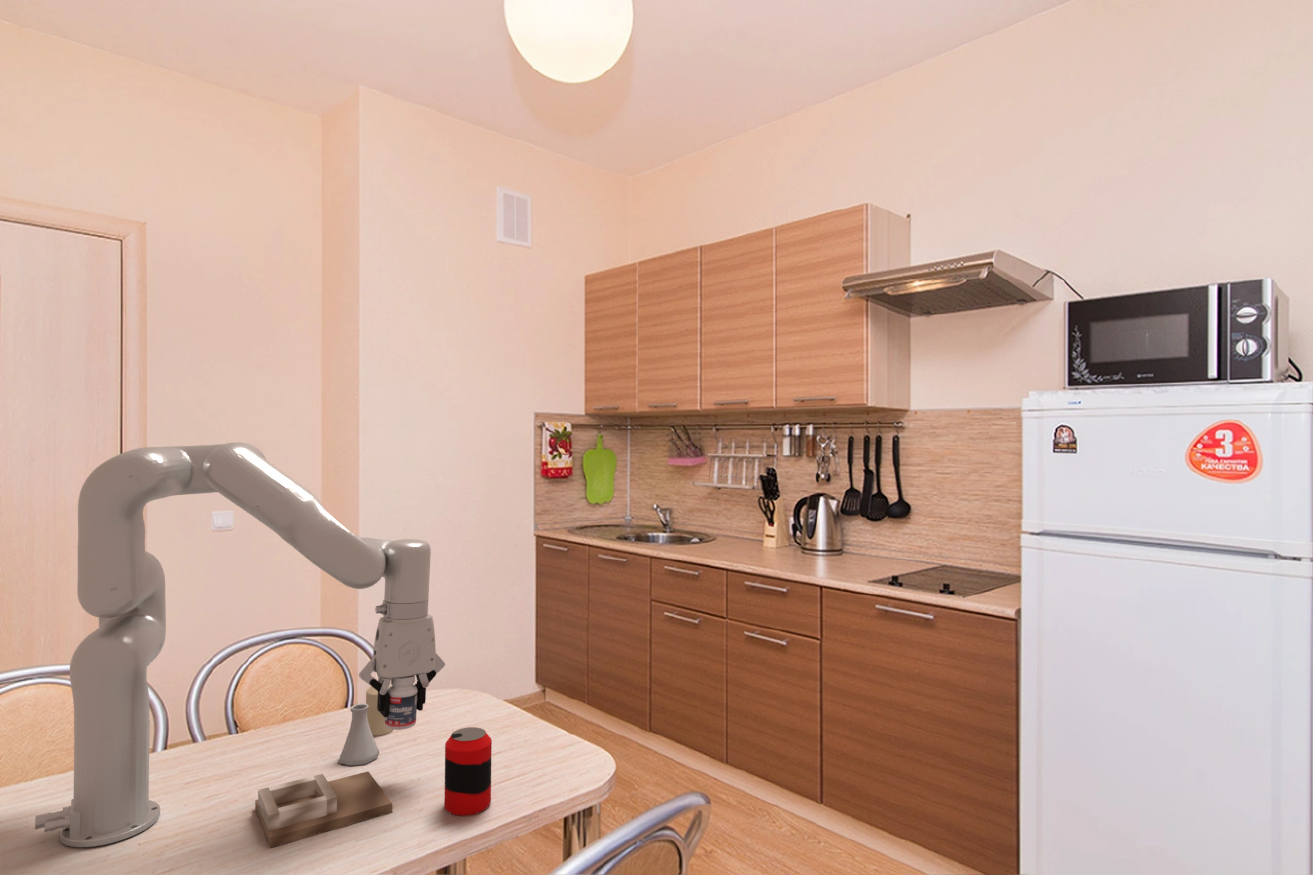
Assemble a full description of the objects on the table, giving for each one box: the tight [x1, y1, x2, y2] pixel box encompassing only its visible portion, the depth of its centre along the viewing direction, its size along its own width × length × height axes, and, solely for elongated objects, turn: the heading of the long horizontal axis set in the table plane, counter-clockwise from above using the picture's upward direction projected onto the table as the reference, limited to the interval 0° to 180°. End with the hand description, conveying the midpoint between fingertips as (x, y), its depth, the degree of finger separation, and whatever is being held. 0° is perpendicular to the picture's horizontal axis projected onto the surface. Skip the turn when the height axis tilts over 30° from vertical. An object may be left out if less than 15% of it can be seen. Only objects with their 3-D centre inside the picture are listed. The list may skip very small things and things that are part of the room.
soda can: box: [443, 726, 493, 817], centre depth 122 cm, size 8×8×12 cm
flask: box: [337, 703, 380, 766], centre depth 140 cm, size 7×7×10 cm
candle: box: [365, 684, 394, 737], centre depth 153 cm, size 6×6×10 cm
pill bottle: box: [385, 675, 418, 731], centre depth 130 cm, size 5×5×9 cm
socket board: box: [254, 771, 393, 849], centre depth 120 cm, size 18×14×4 cm
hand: (401, 710), depth 130 cm, fingers closed on pill bottle, 5 cm apart
